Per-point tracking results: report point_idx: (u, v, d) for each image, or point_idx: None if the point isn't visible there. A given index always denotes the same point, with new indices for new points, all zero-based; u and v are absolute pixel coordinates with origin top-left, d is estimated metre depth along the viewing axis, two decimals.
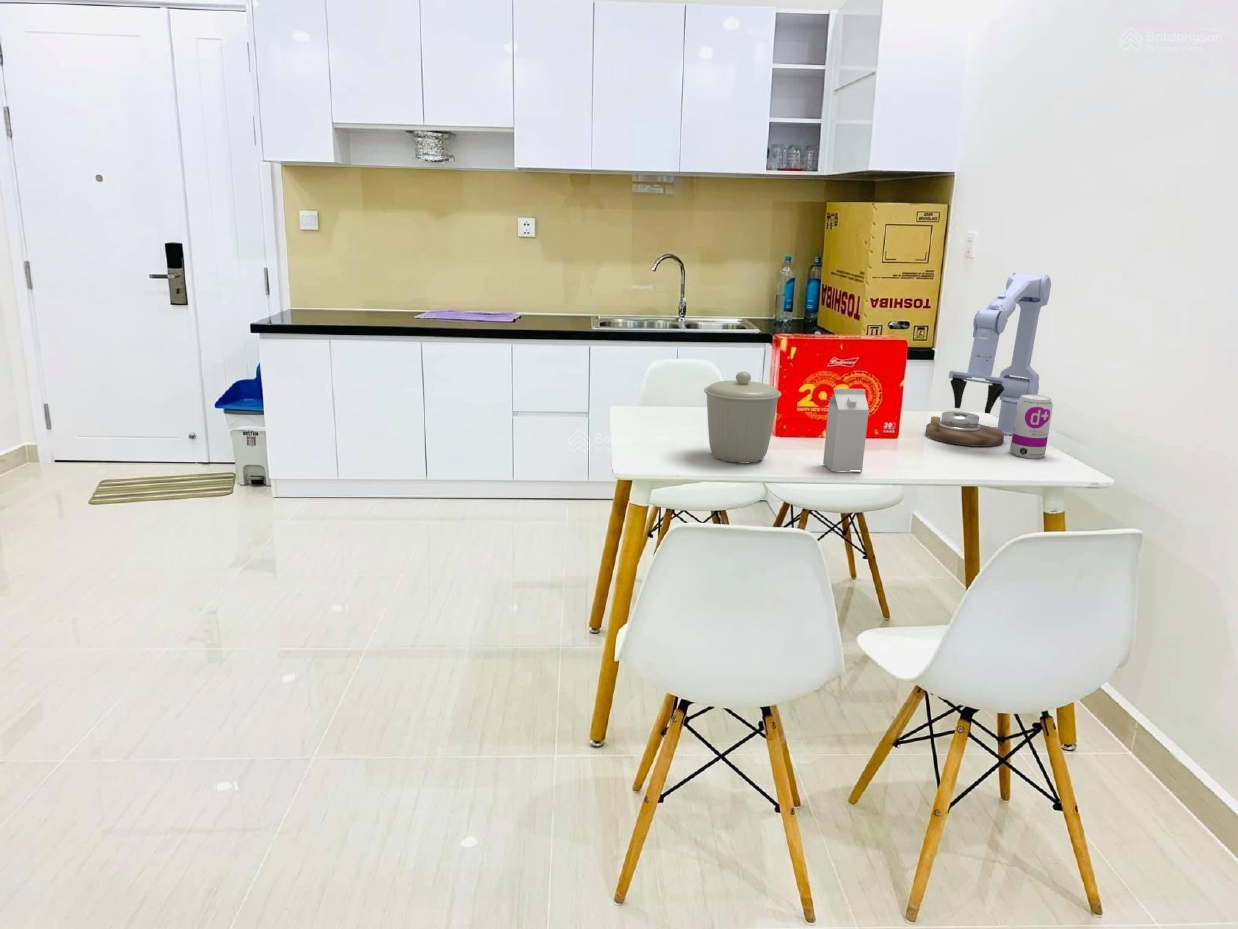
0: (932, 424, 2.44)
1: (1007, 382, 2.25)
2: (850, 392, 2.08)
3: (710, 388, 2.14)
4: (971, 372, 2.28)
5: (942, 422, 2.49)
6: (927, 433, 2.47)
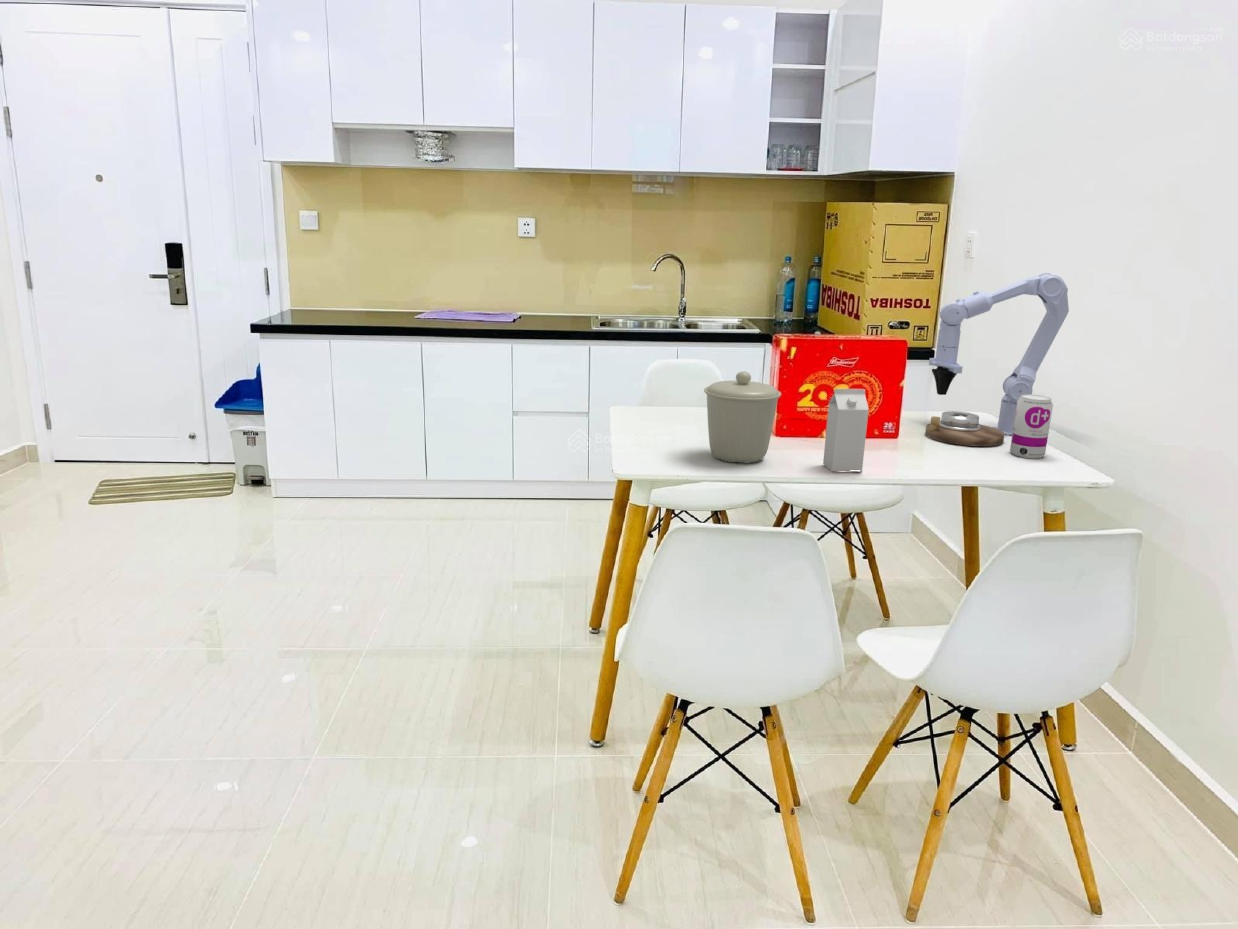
0: (932, 424, 2.44)
1: (958, 370, 2.49)
2: (850, 392, 2.08)
3: (710, 388, 2.14)
4: (935, 360, 2.56)
5: (942, 422, 2.49)
6: (927, 433, 2.47)
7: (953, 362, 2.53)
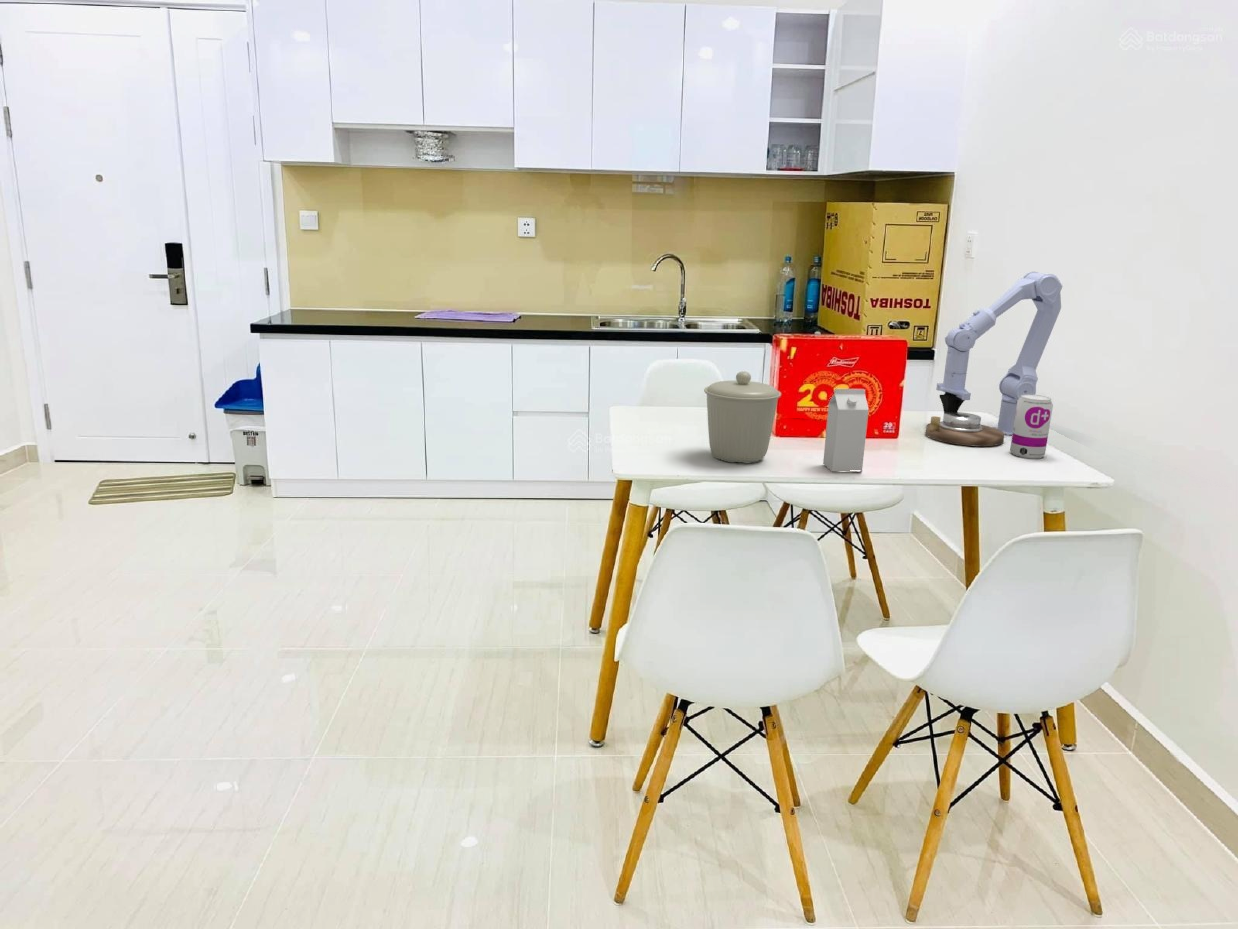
0: (932, 424, 2.44)
1: (967, 396, 2.45)
2: (850, 392, 2.08)
3: (710, 388, 2.14)
4: (942, 386, 2.52)
5: (944, 423, 2.48)
6: (927, 433, 2.47)
7: (961, 388, 2.49)
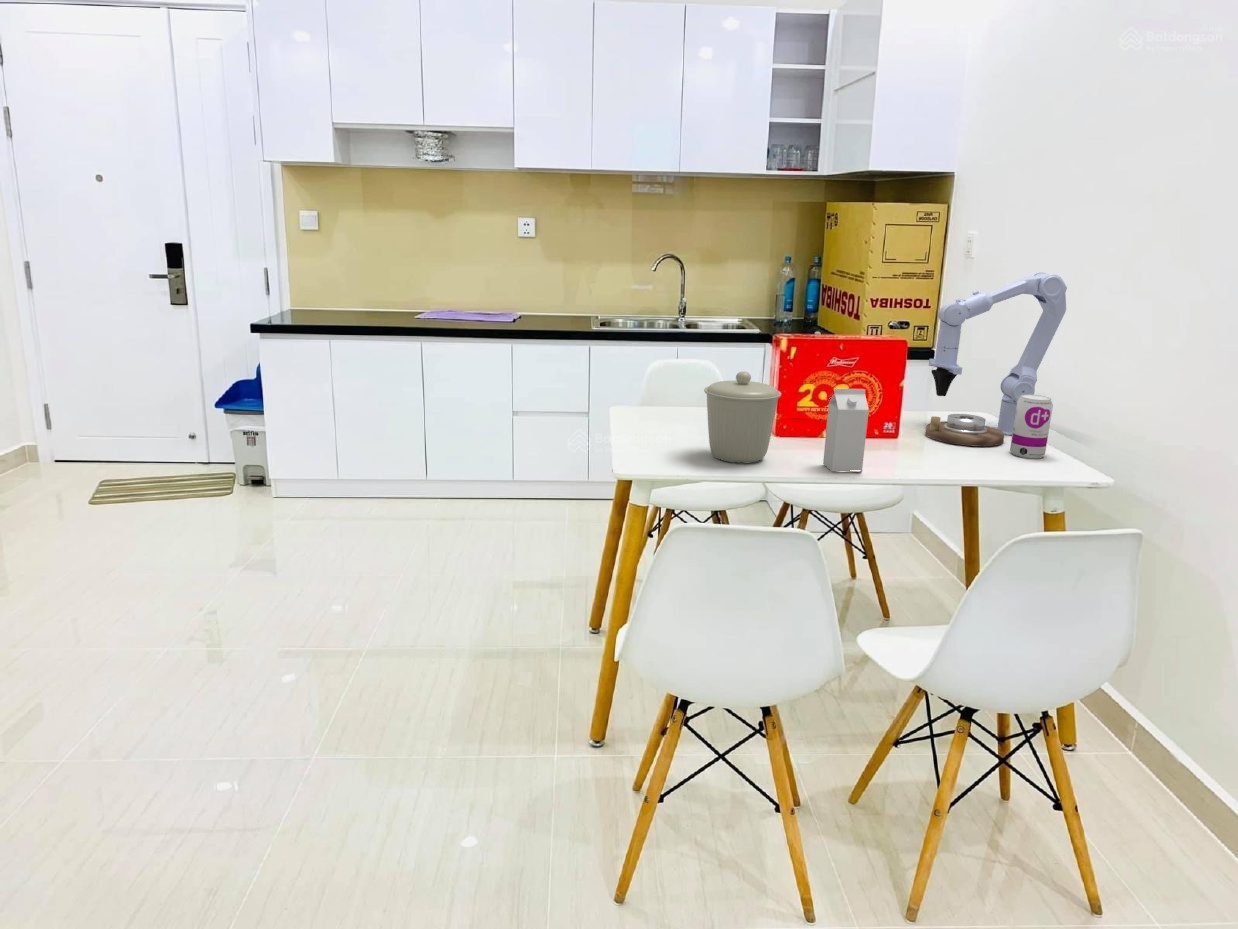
0: (932, 424, 2.44)
1: (958, 371, 2.46)
2: (850, 392, 2.08)
3: (710, 388, 2.14)
4: (934, 361, 2.53)
5: (948, 425, 2.46)
6: (927, 433, 2.47)
7: (953, 363, 2.50)
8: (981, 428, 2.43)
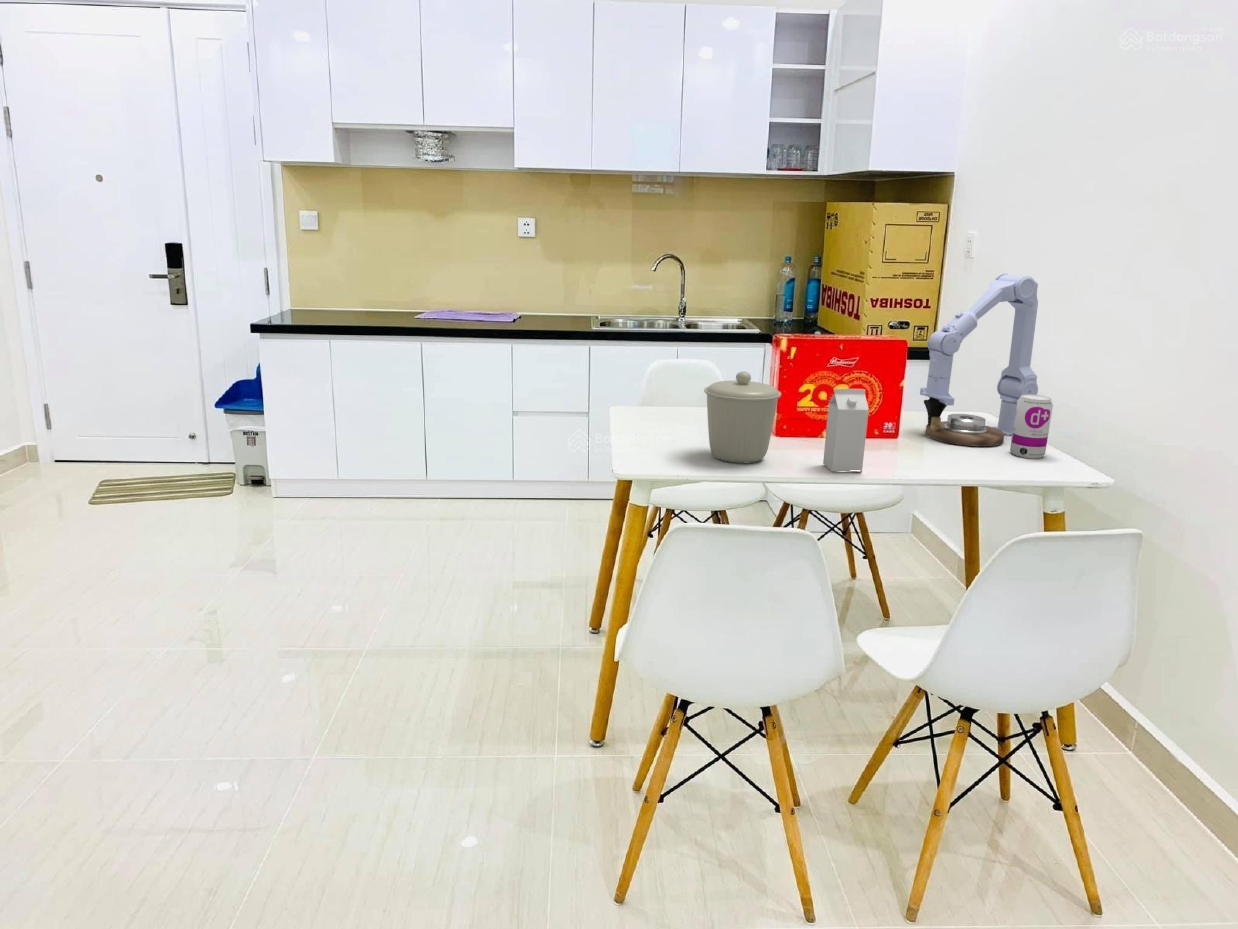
0: (932, 424, 2.44)
1: (950, 402, 2.38)
2: (850, 392, 2.08)
3: (710, 388, 2.14)
4: (926, 390, 2.45)
5: (948, 425, 2.46)
6: (927, 433, 2.47)
7: (945, 393, 2.42)
8: (981, 428, 2.43)
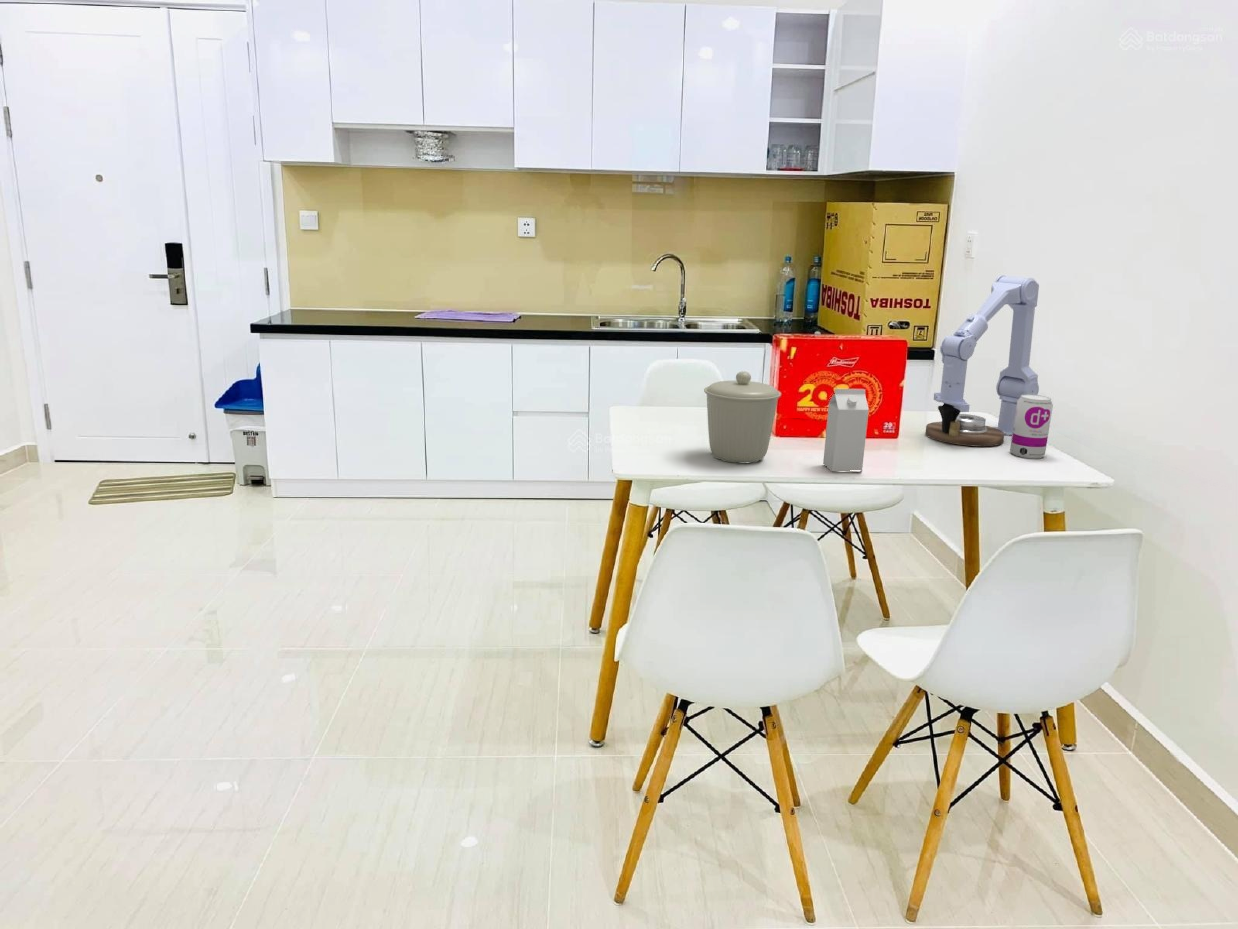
0: (955, 430, 2.38)
1: (965, 408, 2.32)
2: (850, 392, 2.08)
3: (710, 388, 2.14)
4: (940, 396, 2.39)
5: None
6: (944, 439, 2.41)
7: (959, 399, 2.36)
8: None
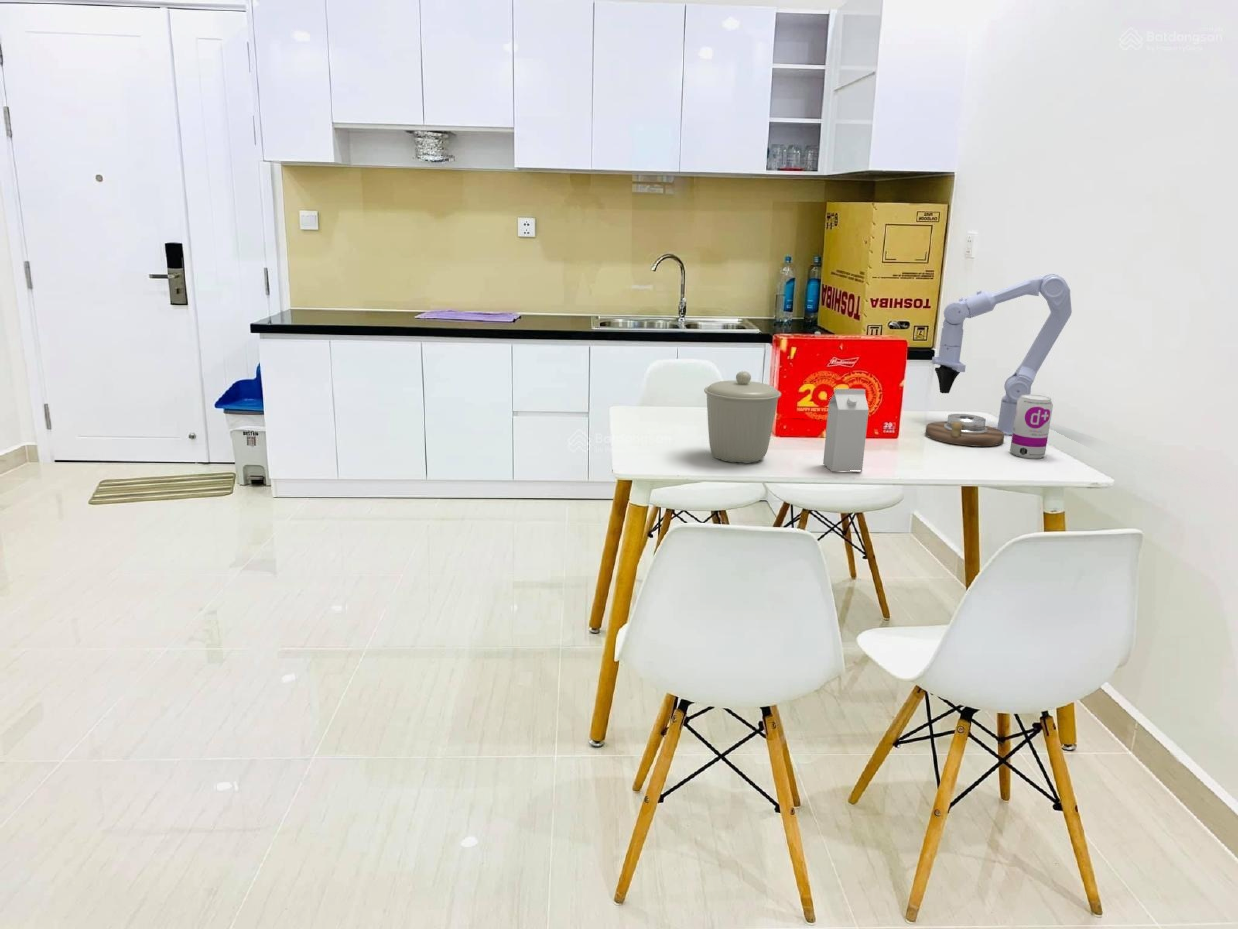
0: (957, 430, 2.38)
1: (961, 368, 2.51)
2: (850, 392, 2.08)
3: (710, 388, 2.14)
4: (938, 359, 2.58)
5: None
6: (946, 440, 2.40)
7: (956, 361, 2.55)
8: None
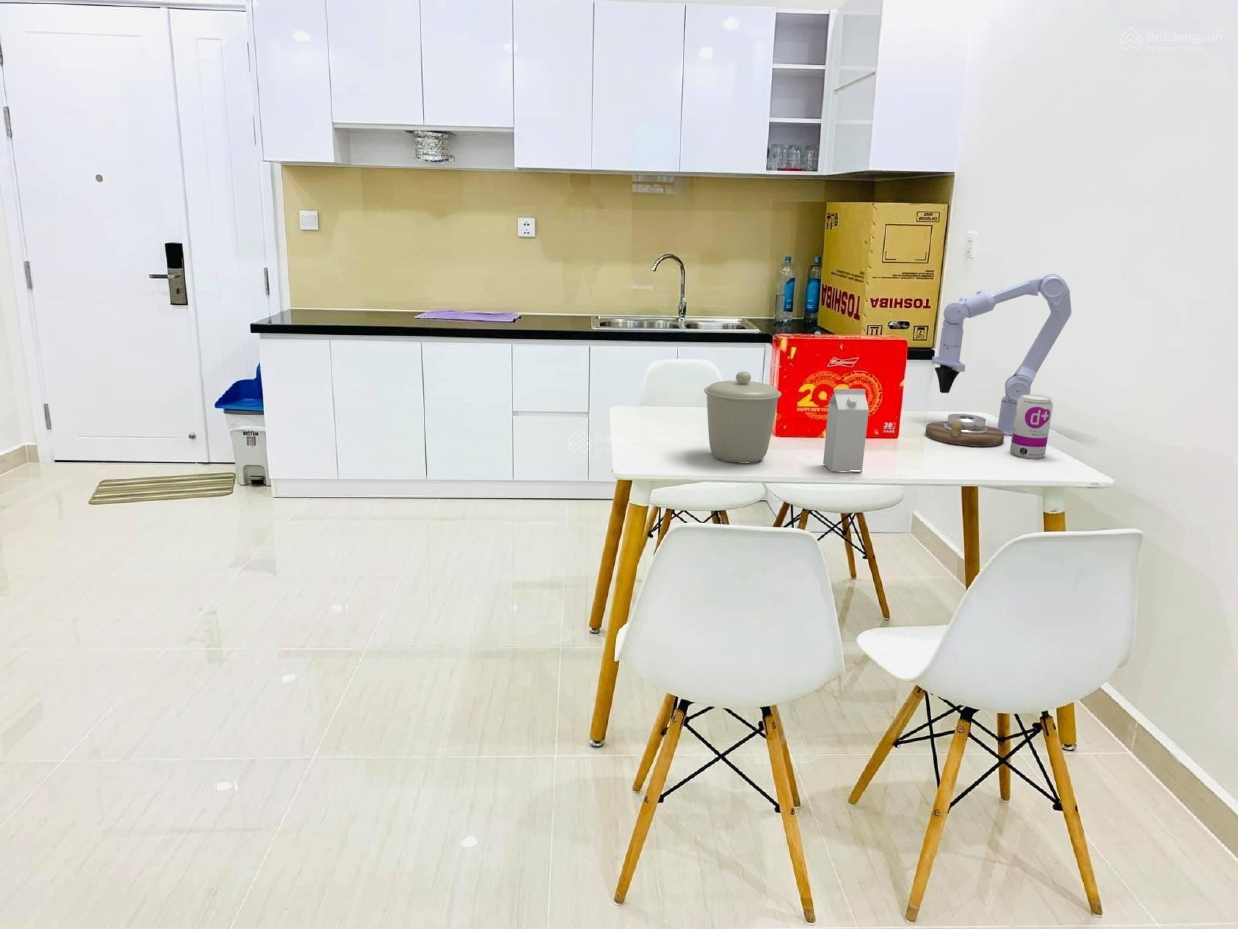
0: (957, 430, 2.38)
1: (961, 368, 2.51)
2: (850, 392, 2.08)
3: (710, 388, 2.14)
4: (938, 358, 2.58)
5: None
6: (946, 440, 2.40)
7: (956, 360, 2.55)
8: None
